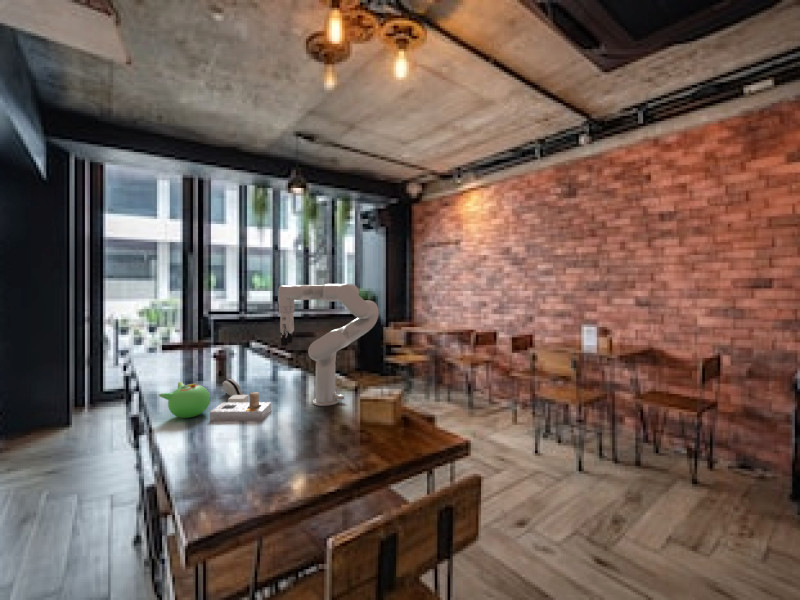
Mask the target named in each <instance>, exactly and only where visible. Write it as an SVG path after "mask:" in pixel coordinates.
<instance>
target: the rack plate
mask: <svg viewBox="0 0 800 600" xmlns="http://www.w3.org/2000/svg"><path fill="white" fill-rule="evenodd" d="M271 412H272V402H271V401H268V402H267V401H266V402H265V401H263V402H262V401H259V408H254V409H250V406H249V401H248V402H237V403H228V402H221V403H220V404H218V405H217V406H216V407H214V408H213V409H212V410H210V411H209V422H259V421H260V422H262V421H263V420H265V418H266V417H267V416H268V415H269V414H270V413H271Z"/></svg>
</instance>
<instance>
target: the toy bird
mask: <svg viewBox="0 0 800 600" xmlns="http://www.w3.org/2000/svg"><path fill="white" fill-rule="evenodd" d="M158 396H159V397H160V398H162V399H165V400H167V401H168V402H167V405H168V406H167V407H168V410H169V412H170V413H171V414H172V415H174V416H175V417H177V418H182V419H189V418H194V417H196V416H199V415H201V414H202V413H204V412H205V411H206V410H207V409H208V407H209V405H210V404H211V403H210V402H211V395H210V392H209V391H208V389H207V388H206V387H204V386H202V385H200V384H197V383H190V384H189V383H188V384H184V383H183V382H182V381H178V383H177V388H176V389H175V390H174V391H173V392H161V393H159V394H158Z"/></svg>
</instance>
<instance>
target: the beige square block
mask: <svg viewBox="0 0 800 600" xmlns="http://www.w3.org/2000/svg"><path fill="white" fill-rule="evenodd" d="M237 402H249V394H245V395H233V396H229V398H228V399H227V403H237Z"/></svg>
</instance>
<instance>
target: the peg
mask: <svg viewBox="0 0 800 600" xmlns="http://www.w3.org/2000/svg"><path fill="white" fill-rule="evenodd" d="M248 402H249V406H250V409H254V408H259V402H260V392H257V391H256V392H255V391H252V392H250V393H249V394H248Z"/></svg>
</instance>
